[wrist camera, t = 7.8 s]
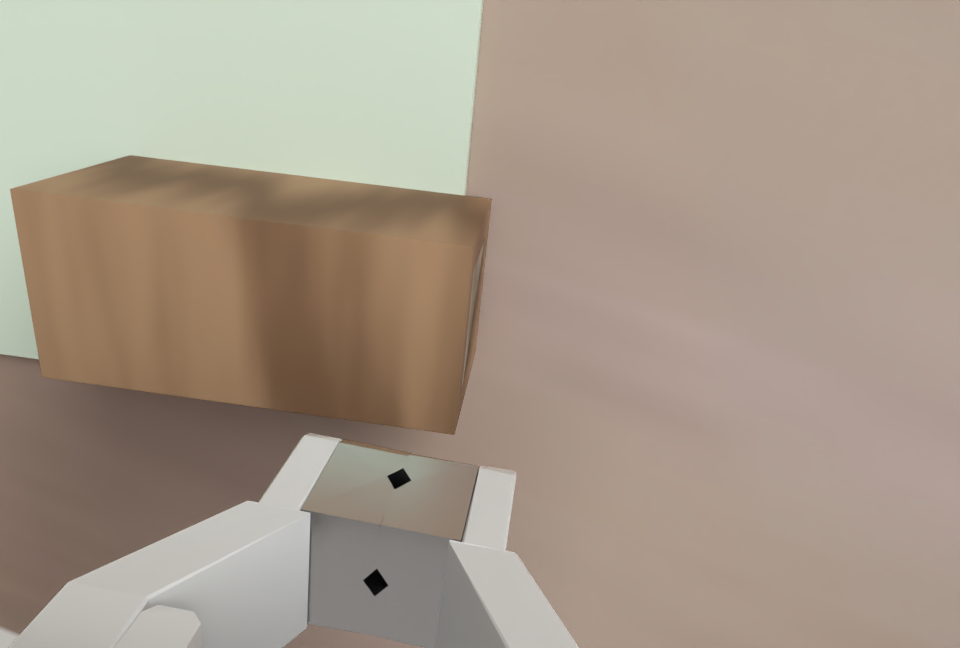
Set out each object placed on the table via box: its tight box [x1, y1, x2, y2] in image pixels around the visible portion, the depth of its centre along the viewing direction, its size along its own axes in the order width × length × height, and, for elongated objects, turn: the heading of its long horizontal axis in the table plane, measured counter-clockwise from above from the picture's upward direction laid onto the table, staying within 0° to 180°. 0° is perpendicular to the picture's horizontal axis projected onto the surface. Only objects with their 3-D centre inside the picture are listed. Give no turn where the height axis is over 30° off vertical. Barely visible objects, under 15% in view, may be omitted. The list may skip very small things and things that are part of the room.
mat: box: [0, 0, 484, 359], centre depth 20 cm, size 16×18×1 cm
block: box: [10, 155, 492, 435], centre depth 19 cm, size 5×5×11 cm
